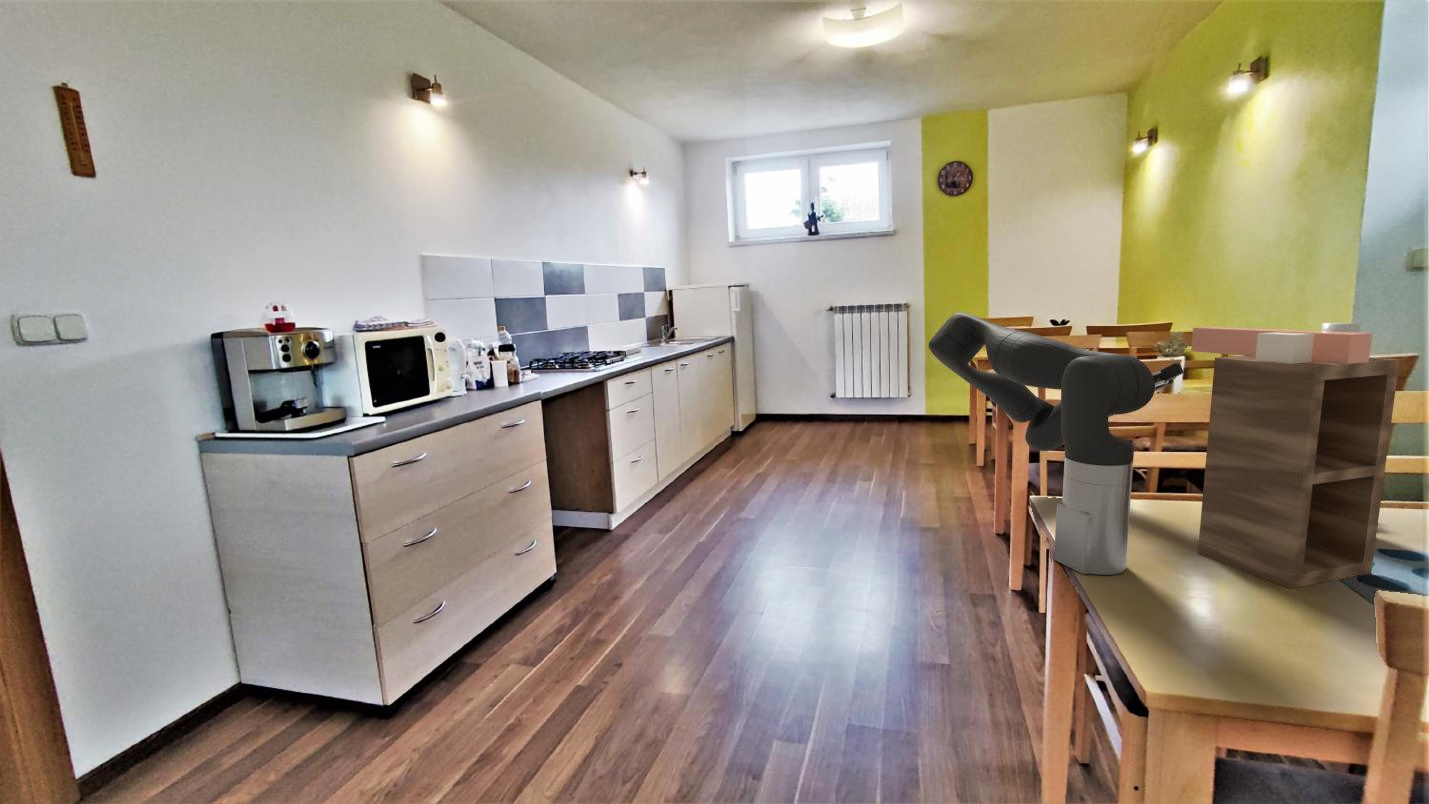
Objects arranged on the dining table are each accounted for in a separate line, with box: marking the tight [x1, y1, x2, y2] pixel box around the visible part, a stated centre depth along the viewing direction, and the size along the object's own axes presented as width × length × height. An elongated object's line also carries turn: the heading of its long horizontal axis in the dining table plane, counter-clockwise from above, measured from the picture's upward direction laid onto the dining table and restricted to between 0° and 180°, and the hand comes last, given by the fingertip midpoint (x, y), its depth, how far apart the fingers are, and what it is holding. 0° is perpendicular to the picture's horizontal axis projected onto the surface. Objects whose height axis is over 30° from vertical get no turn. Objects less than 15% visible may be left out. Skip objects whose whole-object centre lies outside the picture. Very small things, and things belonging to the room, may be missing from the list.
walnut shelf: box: [1197, 355, 1400, 590], centre depth 102 cm, size 16×14×32 cm
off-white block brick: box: [1255, 332, 1314, 364], centre depth 96 cm, size 4×5×4 cm
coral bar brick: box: [1190, 326, 1373, 364], centre depth 103 cm, size 4×23×4 cm, turn 15°
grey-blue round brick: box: [1320, 322, 1362, 333], centre depth 99 cm, size 4×4×5 cm
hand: (1161, 369), depth 122 cm, fingers open, 8 cm apart
